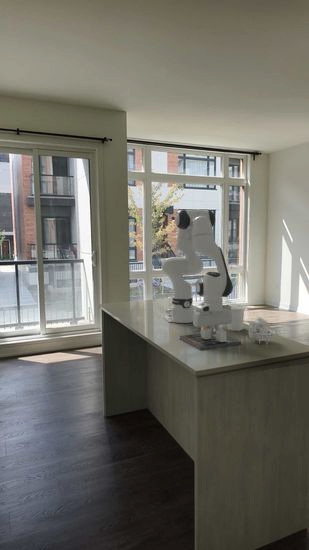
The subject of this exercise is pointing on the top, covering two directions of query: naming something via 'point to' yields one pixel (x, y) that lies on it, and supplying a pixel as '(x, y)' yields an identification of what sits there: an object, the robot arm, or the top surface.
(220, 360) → the top surface
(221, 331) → the breaker right
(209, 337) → the breaker mid
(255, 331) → the mechanical part
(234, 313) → the candle holder
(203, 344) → the panel
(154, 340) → the top surface
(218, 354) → the top surface
